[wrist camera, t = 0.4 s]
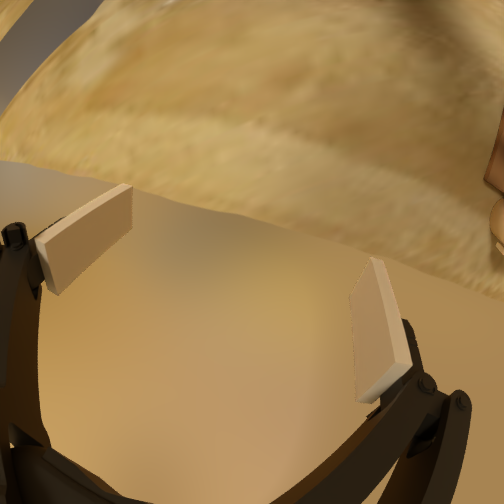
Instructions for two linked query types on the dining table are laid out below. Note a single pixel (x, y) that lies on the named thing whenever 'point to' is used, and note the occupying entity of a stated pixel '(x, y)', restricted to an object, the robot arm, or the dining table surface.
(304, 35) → the dining table surface
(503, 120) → the board
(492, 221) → the cream egg shape
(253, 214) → the dining table surface
